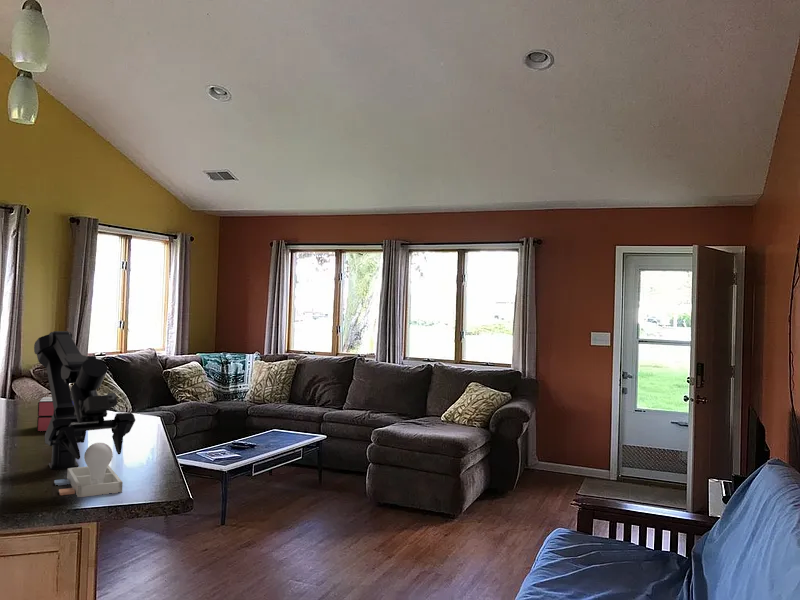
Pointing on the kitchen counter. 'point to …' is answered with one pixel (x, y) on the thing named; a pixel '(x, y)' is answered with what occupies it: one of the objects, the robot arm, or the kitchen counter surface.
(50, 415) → the puzzle cube
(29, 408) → the kitchen counter surface
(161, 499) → the kitchen counter surface
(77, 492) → the socket board
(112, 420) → the robot arm
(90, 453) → the lightbulb
